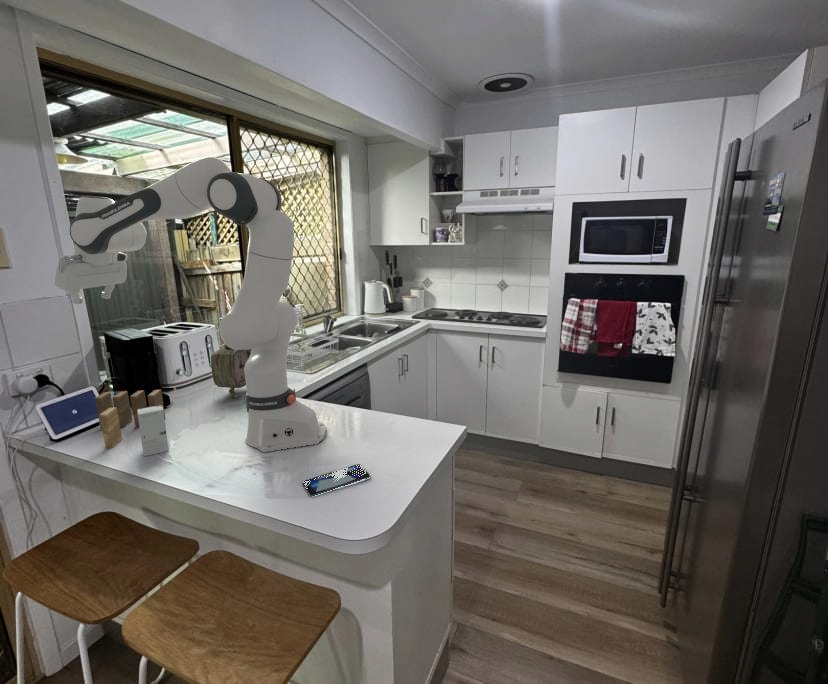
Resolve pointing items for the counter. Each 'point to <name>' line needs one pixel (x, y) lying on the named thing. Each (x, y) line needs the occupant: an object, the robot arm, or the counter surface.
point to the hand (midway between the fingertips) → (92, 300)
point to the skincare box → (152, 430)
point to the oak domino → (110, 427)
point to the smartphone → (328, 483)
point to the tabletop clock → (229, 368)
